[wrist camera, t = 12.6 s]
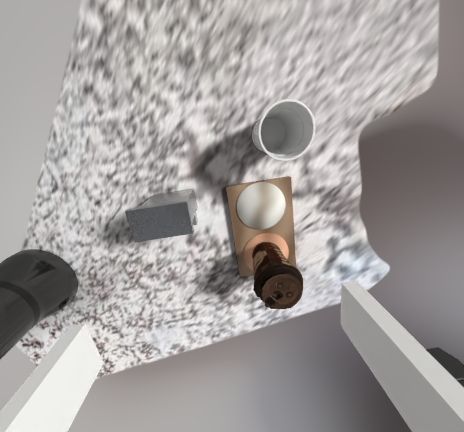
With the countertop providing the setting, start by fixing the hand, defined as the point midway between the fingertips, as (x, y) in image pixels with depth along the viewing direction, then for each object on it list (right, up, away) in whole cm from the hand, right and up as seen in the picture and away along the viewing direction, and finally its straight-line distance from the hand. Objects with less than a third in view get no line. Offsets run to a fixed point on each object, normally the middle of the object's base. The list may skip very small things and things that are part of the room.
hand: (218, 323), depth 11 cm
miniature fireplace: (-11, +8, +33) cm, 36 cm away
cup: (+8, +21, +30) cm, 38 cm away
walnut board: (+7, +3, +36) cm, 37 cm away
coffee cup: (+8, -3, +37) cm, 38 cm away
